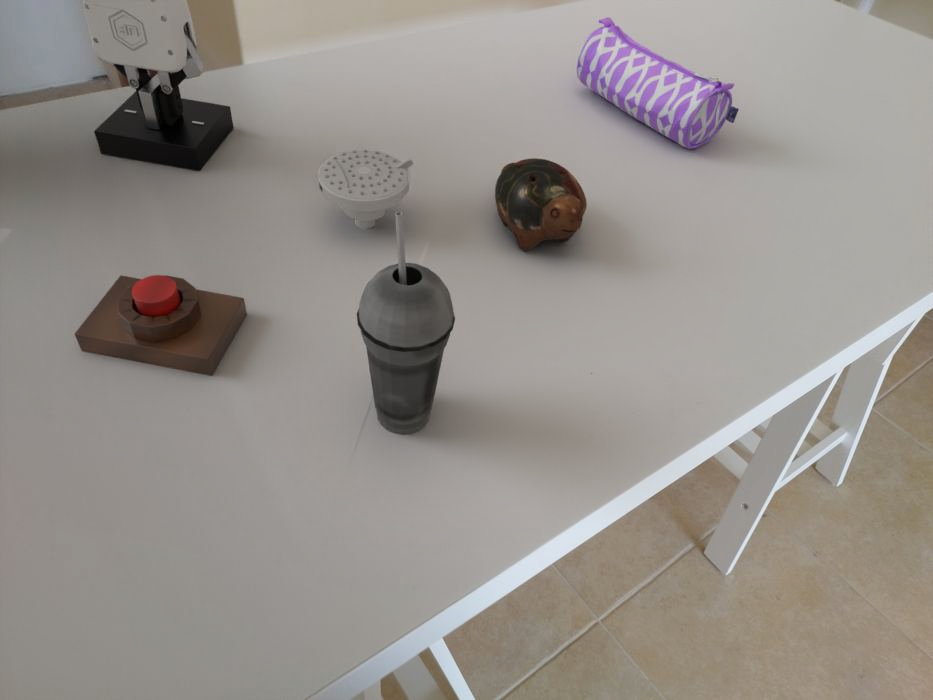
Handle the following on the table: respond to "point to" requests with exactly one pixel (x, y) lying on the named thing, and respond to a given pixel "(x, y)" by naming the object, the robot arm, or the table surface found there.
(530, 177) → the decorative turtle
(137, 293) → the stop button
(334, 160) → the showerhead
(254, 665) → the table surface
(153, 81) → the grey rectangular plate
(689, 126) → the pencil case
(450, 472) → the table surface
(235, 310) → the button block
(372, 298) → the beverage cup
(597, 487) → the table surface
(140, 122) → the black lever switch box
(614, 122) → the table surface
